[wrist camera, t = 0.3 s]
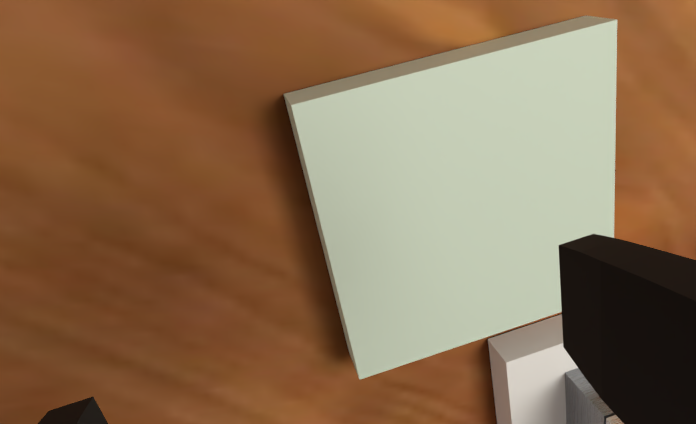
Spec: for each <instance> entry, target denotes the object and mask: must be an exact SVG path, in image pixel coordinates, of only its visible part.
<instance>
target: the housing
mask: <svg viewBox="0 0 696 424" xmlns="http://www.w3.org/2000/svg"><path fill="white" fill-rule="evenodd" d="M565 396H566V424H624V423H623V422H622V421H621V420H620V419H619V418H618V417H617V416H616V415H615V414H614V412H613V411H612V410H611V409H610V408H609V407H608V406H607V405H606V404H605V403H604V401H603V400H602V399H601V398H600V397H599V395H598V394H597V393H596V391H595V390H594V389H593V387H592V386H591V385H590V383H589V382H588V381H587V379H586V378H585V377H584V375H583V374H582V373H581V371H580V370H579V368H576V369H573V370H570V371H568V372H565Z"/></svg>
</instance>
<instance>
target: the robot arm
mask: <svg viewBox="0 0 696 424" xmlns="http://www.w3.org/2000/svg"><path fill="white" fill-rule="evenodd" d="M559 265H560V286H561V307H562V328H563V347H564V349H565V350H566V351H567V353H568V354H569V356H570V357H571V358H572V360H573V361H574V363H575V364H576V366H577V367H578V368H579V370H580V371H581V373H582V374H583V375H584V377H585V378H586V379H587V381H588V382H589V383H590V385H591V386H592V387H593V389H594V390H595V391H596V393H597V394H598V395H599V397H600V398H601V399H602V400H603V401H604V403H605V404H606V405H607V406H608V407H609V408H610V409H611V410H612V411H613V412H614V414H615V415H616V416H617V417H618V418H619V419H620V420H621V421H622V422H623V423H624V424H696V260H693V259H689V258H686V257H682V256H679V255H675V254H672V253H668V252H664V251H661V250H657V249H654V248H650V247H647V246H643V245H639V244H635V243H632V242H628V241H624V240H620V239H616V238H612V237H607V236H602V235H597V234H591V235H588V236H585V237H582V238H579V239H576V240H573V241H570V242H567V243H564V244H561V245H559ZM38 424H108V423H107V421H106V419H105V417H104V416H103V414H102V412H101V410H100V408H99V407H98V405H97V403H96V401H95V399H94V397H91V398H87V399H84V400H81V401H78V402H75V403H72V404H69V405H66V406H63V407H60V408H57V409H54V410H51V411H48V413H47V414H46V415H45V416H44V417H43V418H42V420H41V421H40V422H39V423H38Z"/></svg>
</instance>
